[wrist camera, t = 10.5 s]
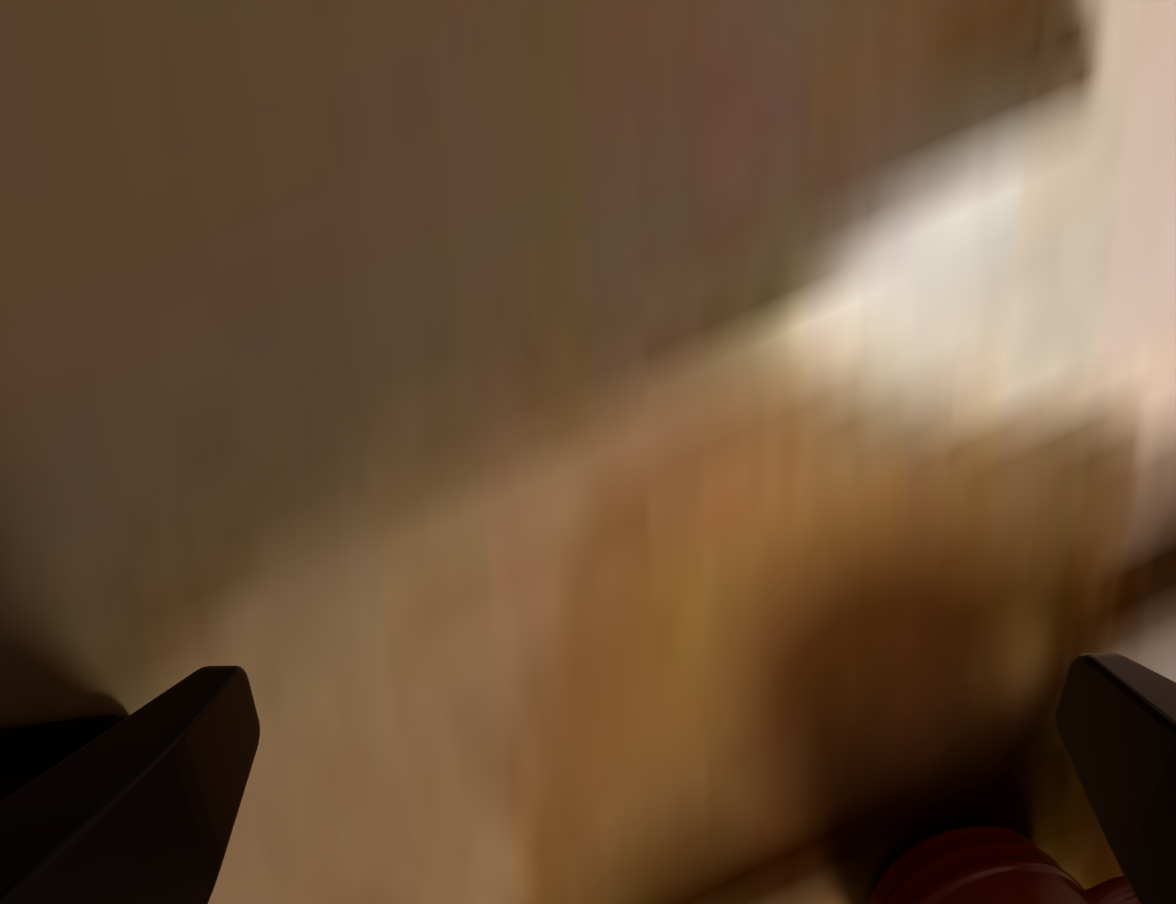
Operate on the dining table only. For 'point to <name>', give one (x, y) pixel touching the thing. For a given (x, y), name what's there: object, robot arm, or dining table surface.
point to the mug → (987, 873)
